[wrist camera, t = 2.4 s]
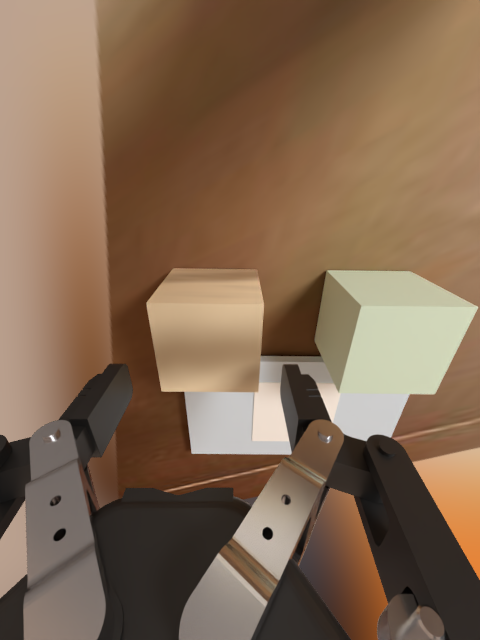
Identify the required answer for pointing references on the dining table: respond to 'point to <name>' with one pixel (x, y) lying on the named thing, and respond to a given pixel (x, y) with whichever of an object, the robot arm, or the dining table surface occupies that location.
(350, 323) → the sage block
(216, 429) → the white rectangular board
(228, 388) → the maple block
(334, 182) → the dining table surface
